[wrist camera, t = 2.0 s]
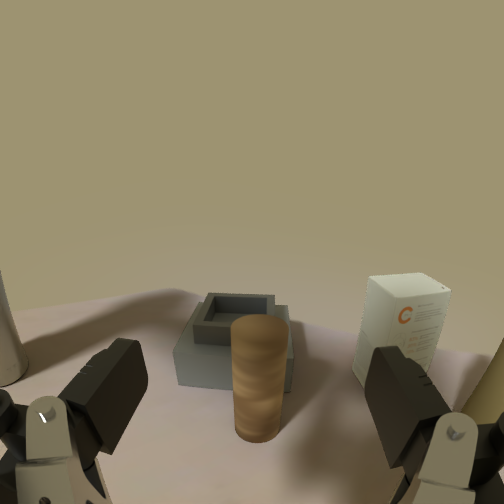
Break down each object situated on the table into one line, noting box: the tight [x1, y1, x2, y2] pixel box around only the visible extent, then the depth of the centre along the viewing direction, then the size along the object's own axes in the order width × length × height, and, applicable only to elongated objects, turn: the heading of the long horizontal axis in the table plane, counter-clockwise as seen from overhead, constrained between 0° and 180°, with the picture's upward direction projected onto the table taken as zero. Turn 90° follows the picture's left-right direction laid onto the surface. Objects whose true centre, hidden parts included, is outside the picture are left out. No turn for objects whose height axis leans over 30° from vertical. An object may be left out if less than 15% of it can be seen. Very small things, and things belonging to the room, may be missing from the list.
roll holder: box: [173, 293, 294, 392], centre depth 35 cm, size 13×13×8 cm
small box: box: [352, 272, 452, 388], centre depth 28 cm, size 8×6×13 cm
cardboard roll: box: [231, 314, 289, 443], centre depth 22 cm, size 4×4×12 cm
